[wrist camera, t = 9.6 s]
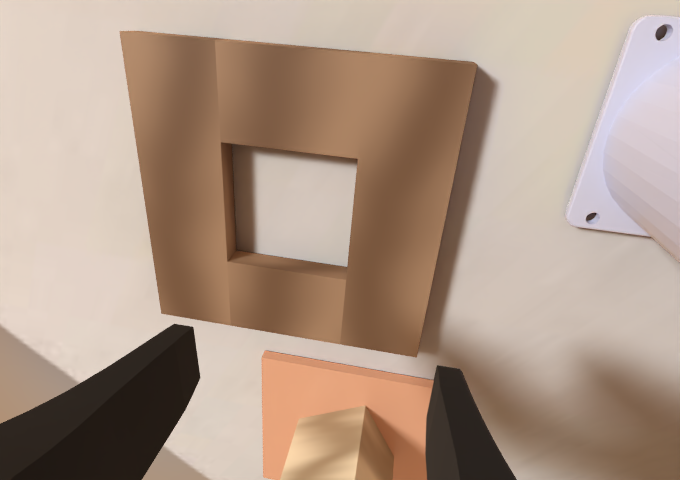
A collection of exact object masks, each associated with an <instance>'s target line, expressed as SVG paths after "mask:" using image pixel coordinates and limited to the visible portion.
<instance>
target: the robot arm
mask: <svg viewBox="0 0 680 480" xmlns="http://www.w3.org/2000/svg"><path fill="white" fill-rule="evenodd" d="M662 25H665V26H666V28H667V33H666V35H665V36H664V38H662V39H661V40H657V39H656V37H655V33H656V31H657V29H658V28H659V27H660V26H662ZM590 213H596V216H595V218H594V219H592V220H586V217H587V215H588V214H590ZM565 218H566V220H567V222H568V223H569V224H570V225H571V226H574V227H580V228H587V229H595V230H603V231H610V232H618V233H625V234H633V235H640V236H648V237H652V238H653V239H654V240H655V241H657V242H658V243H659V244H660V245H661V246H662V247H663V248H664V249H665V250H666V251H667V252H669V253H670V254H671V255H672V256H673V257H674V258H675V259H676V260H677V261H678V262H679V263H680V17H673V16H659V15H647V16H642V17H640V18H638V19H637V20H636V21H635V22H634V23H633V24H632V25H631V27H630V28H629V30H628V33H627V36H626V39H625V42H624V45H623V48H622V51H621V53H620V56H619V59H618V62H617V65H616V68H615V71H614V73H613V76H612V79H611V82H610V85H609V88H608V91H607V94H606V96H605V99H604V102H603V105H602V108H601V111H600V114H599V117H598V119H597V122H596V125H595V128H594V131H593V134H592V137H591V140H590V142H589V145H588V148H587V151H586V154H585V157H584V160H583V163H582V165H581V168H580V171H579V174H578V177H577V180H576V183H575V185H574V188H573V191H572V194H571V197H570V200H569V203H568V206H567V208H566V211H565ZM199 379H200V372H199V365H198V358H197V351H196V343H195V336H194V329H193V327H190V326H184V325H178V324H173V325H172V326H170V327H169V328H167V329H165V330H164V331H162V332H161V333H159V334H158V335H156V336H155V337H153V338H152V339H150V340H149V341H147V342H146V343H144V344H142V345H141V346H139V347H138V348H136V349H135V350H133V351H132V352H130V353H129V354H127V355H126V356H124V357H123V358H121V359H119V360H118V361H116V362H115V363H113V364H112V365H110V366H108V367H107V368H105V369H103V370H102V371H100V372H98V373H97V374H95V375H93V376H92V377H90V378H88V379H87V380H85V381H83V382H82V383H80V384H78V385H77V386H75V387H73V388H71V389H70V390H68V391H66V392H65V393H62V394H61V395H59V396H57V397H55V398H53V399H51V400H49V401H47V402H45V403H43V404H41V405H39V406H38V407H35V408H33V409H31V410H29V411H27V412H25V413H23V414H21V415H19V416H16V417H14V418H12V419H10V420H7V421H6V422H3V423H1V424H0V480H142V478H143V477H144V475H145V474H146V472H147V470H148V469H149V467H150V466H151V464H152V462H153V461H154V459H155V458H156V456H157V454H158V453H159V451H160V450H161V448H162V447H163V445H164V443H165V442H166V440H167V439H168V437H169V435H170V434H171V432H172V431H173V429H174V427H175V426H176V424H177V423H178V421H179V419H180V418H181V416H182V414H183V413H184V411H185V409H186V407H187V405H188V403H189V401H190V399H191V397H192V395H193V393H194V390H195V388H196V386H197V384H198V382H199ZM425 456H426V471H427V480H517V479H516V478H515V476H514V474H513V473H512V471H511V469H510V468H509V466H508V464H507V463H506V461H505V459H504V458H503V456H502V454H501V452H500V451H499V449H498V447H497V445H496V443H495V442H494V440H493V438H492V436H491V434H490V432H489V430H488V428H487V426H486V424H485V422H484V420H483V418H482V416H481V414H480V412H479V410H478V408H477V406H476V404H475V402H474V399H473V397H472V395H471V393H470V390H469V388H468V385H467V383H466V380H465V378H464V375H463V373H462V371H461V370H460V369H457V368H451V367H444V366H438V365H437V368H436V373H435V378H434V383H433V387H432V392H431V397H430V402H429V407H428V412H427V417H426V447H425Z"/></svg>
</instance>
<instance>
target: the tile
mask: <svg viewBox="0 0 680 480" xmlns="http://www.w3.org/2000/svg"><path fill="white" fill-rule="evenodd" d="M433 383H434V380H428V379H423V378H417V377H411V376H406V375H400V374H395V373H389V372H383V371H378V370H372V369H366V368H361V367H355V366H349V365H344V364H338V363H332V362H327V361H321V360H316V359H310V358H304V357H299V356H293V355H287V354H282V353H276V352H270V351H265V352H264V354H263V356H262V415H263V477H264V478H269V479H274V480H280V478H281V475H282V472H283V469H284V465H285V462H286V459H287V456H288V452H289V449H290V446H291V443H292V439H293V436H294V433H295V430H296V426H297V423H298V420H299V419H300V418H305V417H310V416H315V415H320V414H325V413H330V412H335V411H340V410H345V409H350V408H355V407H360V406H366V407H367V409H368V411H369V413H370V414H371V416H372V418H373V420H374V422H375V423H376V425H377V427H378V429H379V431H380V432H381V434H382V436H383V438H384V440H385V441H386V443H387V445H388V447H389V448H390V450H391V452H392V454H393V456H394V465H393V480H427V471H426V456H425V447H426V417H427V412H428V407H429V402H430V397H431V392H432V387H433Z"/></svg>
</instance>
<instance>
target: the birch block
mask: <svg viewBox="0 0 680 480" xmlns="http://www.w3.org/2000/svg"><path fill="white" fill-rule="evenodd" d="M393 465H394V456H393V454H392V452H391V450H390V448H389V447H388V445H387V443H386V441H385V440H384V438H383V436H382V434H381V432H380V431H379V429H378V427H377V425H376V423H375V422H374V420H373V418H372V416H371V414H370V413H369V411H368V409H367V407H366V406H360V407H355V408H350V409H345V410H340V411H335V412H330V413H325V414H320V415H315V416H310V417H305V418H300V419H299V420H298V423H297V426H296V430H295V433H294V436H293V439H292V443H291V446H290V449H289V452H288V456H287V459H286V462H285V465H284V469H283V472H282V475H281V478H280V480H393Z"/></svg>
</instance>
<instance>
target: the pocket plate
mask: <svg viewBox="0 0 680 480" xmlns="http://www.w3.org/2000/svg"><path fill="white" fill-rule="evenodd" d="M120 37H121V44H122V51H123V58H124V64H125V71H126V78H127V85H128V91H129V98H130V105H131V112H132V118H133V125H134V132H135V138H136V145H137V152H138V159H139V165H140V172H141V179H142V186H143V192H144V199H145V206H146V212H147V219H148V226H149V233H150V239H151V246H152V253H153V260H154V266H155V273H156V280H157V287H158V293H159V300H160V307H161V313H162V314H167V315H173V316H179V317H185V318H191V319H196V320H202V321H208V322H214V323H220V324H225V325H231V326H237V327H243V328H249V329H255V330H260V331H266V332H272V333H278V334H284V335H289V336H295V337H301V338H307V339H313V340H319V341H324V342H330V343H336V344H342V345H348V346H353V347H359V348H365V349H371V350H377V351H382V352H388V353H394V354H400V355H406V356H412V357H417V353H418V348H419V343H420V339H421V334H422V329H423V324H424V319H425V315H426V310H427V305H428V300H429V295H430V291H431V286H432V281H433V276H434V271H435V266H436V262H437V257H438V252H439V247H440V242H441V238H442V233H443V228H444V223H445V218H446V213H447V209H448V204H449V199H450V194H451V189H452V185H453V180H454V175H455V170H456V165H457V161H458V156H459V151H460V146H461V141H462V136H463V132H464V127H465V122H466V117H467V112H468V108H469V103H470V98H471V93H472V88H473V83H474V79H475V74H476V69H477V64H476V63H474V62H468V61H457V60H446V59H435V58H424V57H414V56H403V55H392V54H381V53H370V52H360V51H349V50H338V49H327V48H316V47H305V46H295V45H284V44H273V43H262V42H251V41H241V40H230V39H219V38H208V37H197V36H186V35H176V34H165V33H154V32H143V31H120ZM232 144H240V145H248V146H256V147H265V148H273V149H281V150H289V151H298V152H306V153H314V154H322V155H331V156H339V157H347V158H355V159H358V163H357V173H356V183H355V194H354V204H353V215H352V225H351V235H350V246H349V256H348V267H343V266H336V265H330V264H323V263H316V262H310V261H303V260H297V259H290V258H283V257H277V256H270V255H263V254H257V253H250V252H243V251H237V250H236V230H235V207H234V184H233V161H232Z"/></svg>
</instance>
